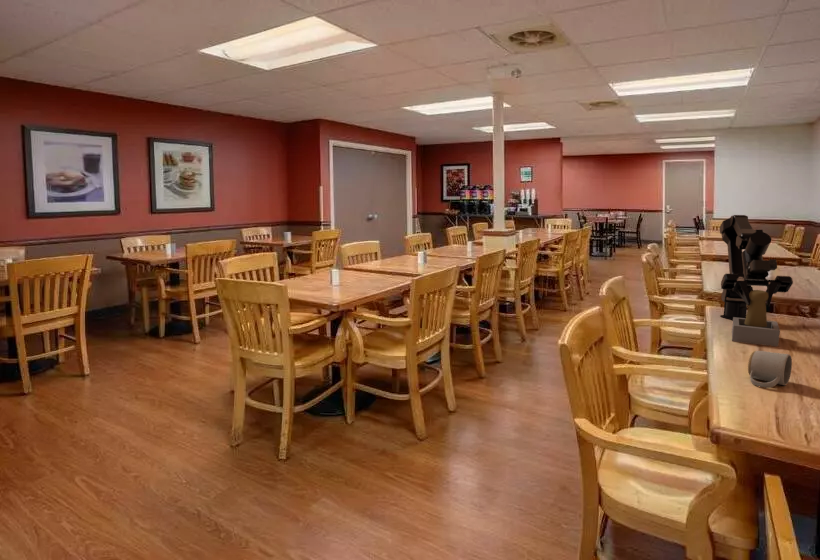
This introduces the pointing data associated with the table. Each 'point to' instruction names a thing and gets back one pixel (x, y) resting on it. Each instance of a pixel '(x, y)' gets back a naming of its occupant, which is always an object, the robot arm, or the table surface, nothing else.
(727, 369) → the table surface
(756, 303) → the cork
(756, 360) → the ceramic mug
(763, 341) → the holder block
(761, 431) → the table surface
